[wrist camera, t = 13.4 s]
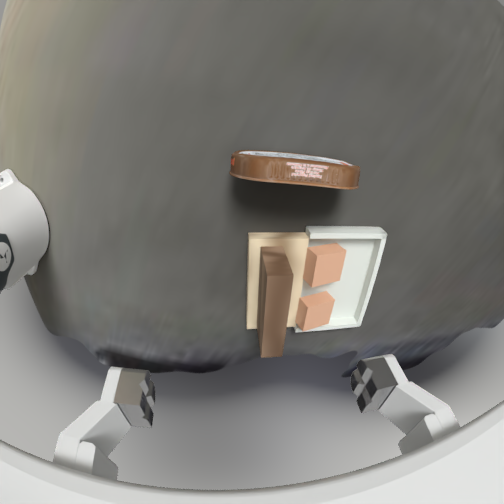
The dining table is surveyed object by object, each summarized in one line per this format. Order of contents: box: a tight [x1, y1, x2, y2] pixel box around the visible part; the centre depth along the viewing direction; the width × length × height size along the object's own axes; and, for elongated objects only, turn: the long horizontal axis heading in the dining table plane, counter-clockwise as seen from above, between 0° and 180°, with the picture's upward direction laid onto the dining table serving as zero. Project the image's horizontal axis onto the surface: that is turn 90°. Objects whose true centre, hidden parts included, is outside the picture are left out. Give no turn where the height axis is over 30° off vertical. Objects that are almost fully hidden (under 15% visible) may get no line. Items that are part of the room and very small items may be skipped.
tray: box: [294, 226, 387, 332], centre depth 42 cm, size 12×18×2 cm, turn 178°
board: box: [246, 232, 309, 329], centre depth 42 cm, size 8×16×2 cm, turn 178°
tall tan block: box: [257, 246, 294, 358], centre depth 38 cm, size 3×14×7 cm, turn 178°
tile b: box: [295, 291, 335, 332], centre depth 43 cm, size 5×5×2 cm
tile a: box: [303, 243, 346, 287], centre depth 39 cm, size 5×5×2 cm
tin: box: [229, 150, 360, 189], centre depth 31 cm, size 15×3×8 cm, turn 85°
